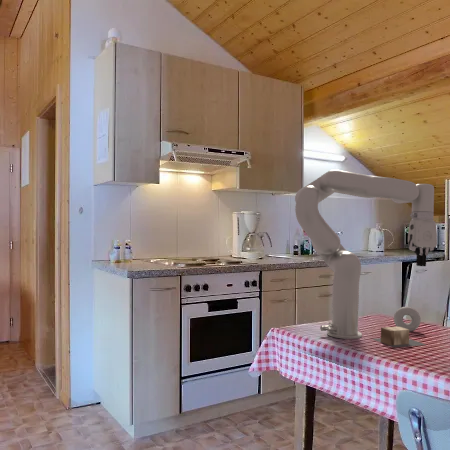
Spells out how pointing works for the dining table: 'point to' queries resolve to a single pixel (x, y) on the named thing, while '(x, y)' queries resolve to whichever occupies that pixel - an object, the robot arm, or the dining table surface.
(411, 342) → the mat
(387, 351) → the dining table surface
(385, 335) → the tall block
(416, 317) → the donut
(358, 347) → the dining table surface
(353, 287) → the robot arm
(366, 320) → the dining table surface
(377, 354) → the dining table surface
